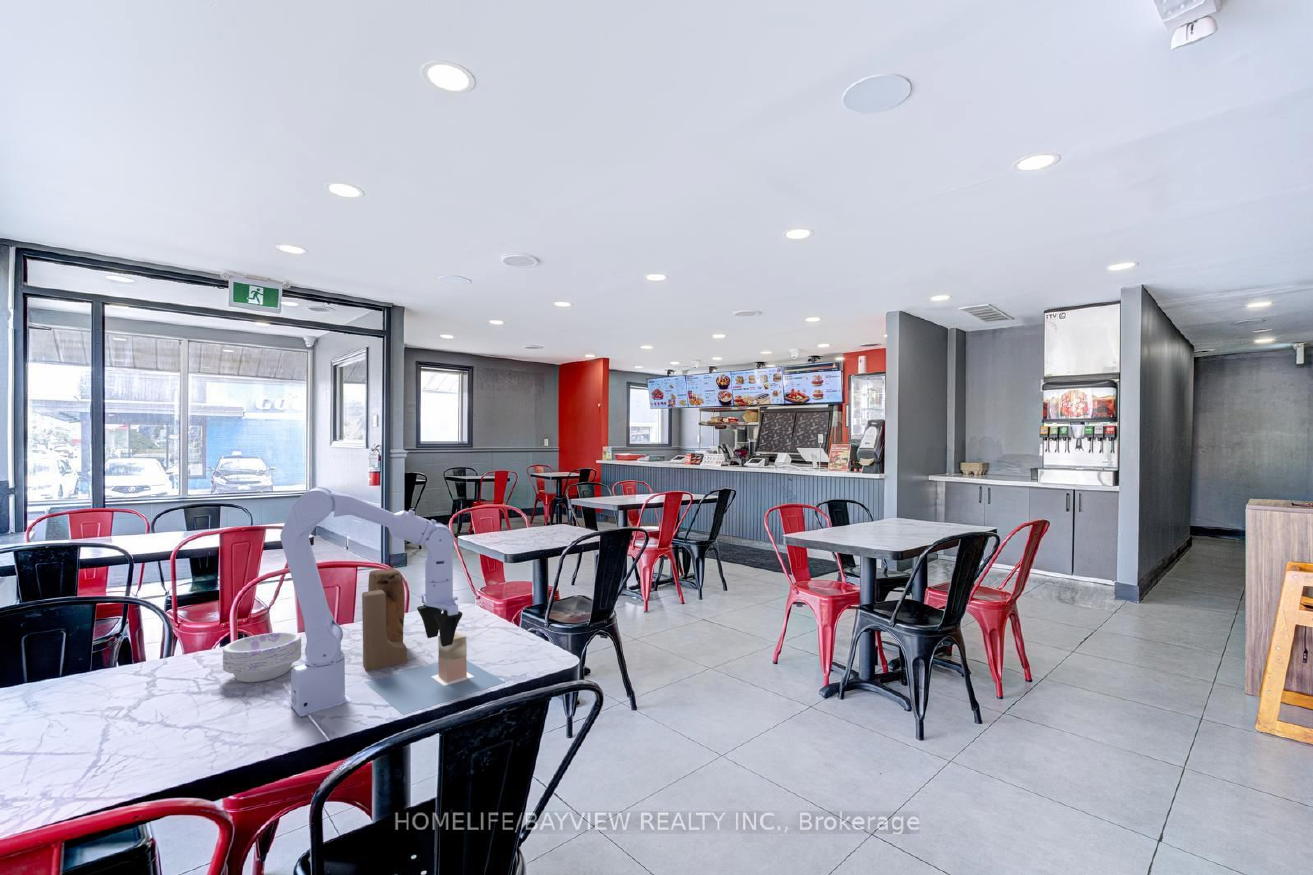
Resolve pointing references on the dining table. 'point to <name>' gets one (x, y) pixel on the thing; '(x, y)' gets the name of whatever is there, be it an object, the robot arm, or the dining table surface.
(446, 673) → the terracotta block
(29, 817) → the dining table surface
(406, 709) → the board
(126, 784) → the dining table surface
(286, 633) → the paper bowls
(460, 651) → the maple block
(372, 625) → the wooden block
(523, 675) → the dining table surface
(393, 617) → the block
